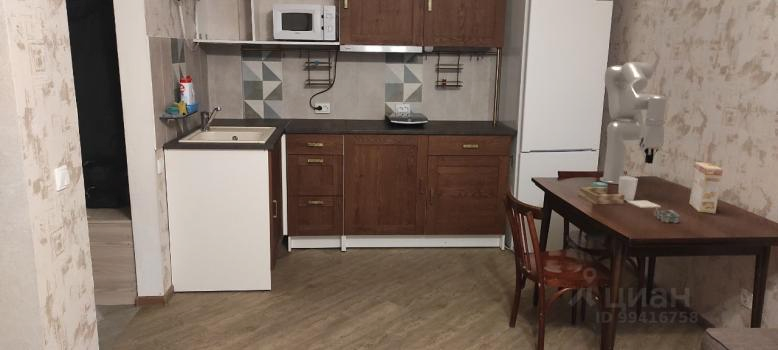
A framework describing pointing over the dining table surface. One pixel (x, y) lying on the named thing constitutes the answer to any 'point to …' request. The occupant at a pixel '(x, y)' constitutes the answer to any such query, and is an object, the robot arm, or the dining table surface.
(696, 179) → the coffeecake box
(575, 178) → the dining table surface
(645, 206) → the cream tile
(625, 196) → the white cup
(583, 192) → the oak bay
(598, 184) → the teal block
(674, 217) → the grey stone ruin model
